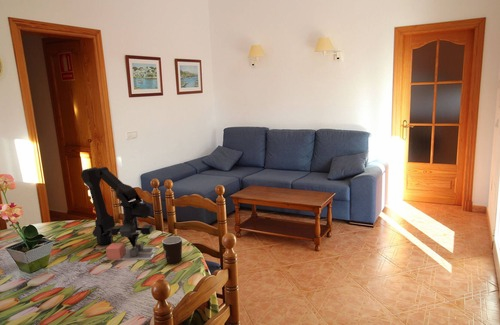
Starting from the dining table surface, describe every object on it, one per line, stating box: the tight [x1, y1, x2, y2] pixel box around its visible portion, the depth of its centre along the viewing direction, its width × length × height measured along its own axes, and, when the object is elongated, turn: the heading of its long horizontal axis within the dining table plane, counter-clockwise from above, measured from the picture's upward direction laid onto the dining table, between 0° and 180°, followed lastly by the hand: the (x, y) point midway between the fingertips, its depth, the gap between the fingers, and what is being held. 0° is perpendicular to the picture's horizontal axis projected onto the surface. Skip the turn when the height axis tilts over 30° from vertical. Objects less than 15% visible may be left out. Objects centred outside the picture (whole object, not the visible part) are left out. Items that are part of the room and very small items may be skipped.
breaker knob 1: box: [130, 247, 139, 257], centre depth 171 cm, size 2×3×3 cm
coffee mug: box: [161, 235, 183, 266], centre depth 168 cm, size 12×9×10 cm
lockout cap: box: [105, 242, 126, 259], centre depth 172 cm, size 6×6×5 cm
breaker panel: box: [103, 245, 161, 261], centre depth 175 cm, size 22×13×2 cm, turn 85°
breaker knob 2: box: [135, 241, 144, 251], centre depth 177 cm, size 2×3×3 cm
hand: (134, 246), depth 177 cm, fingers closed
